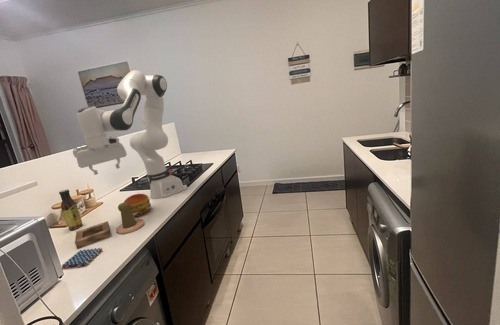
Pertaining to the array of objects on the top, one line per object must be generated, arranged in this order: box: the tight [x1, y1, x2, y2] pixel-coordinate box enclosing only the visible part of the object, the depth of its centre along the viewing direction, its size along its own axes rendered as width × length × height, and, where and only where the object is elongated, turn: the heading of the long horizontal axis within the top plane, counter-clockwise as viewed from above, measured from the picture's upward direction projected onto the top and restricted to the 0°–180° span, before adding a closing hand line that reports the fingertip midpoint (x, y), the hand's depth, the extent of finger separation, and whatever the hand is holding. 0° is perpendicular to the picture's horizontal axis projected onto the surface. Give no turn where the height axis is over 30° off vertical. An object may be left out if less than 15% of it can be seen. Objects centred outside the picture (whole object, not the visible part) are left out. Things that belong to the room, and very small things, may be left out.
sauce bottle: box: [58, 189, 83, 231], centre depth 129 cm, size 6×6×20 cm
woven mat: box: [61, 247, 104, 270], centre depth 99 cm, size 10×11×2 cm
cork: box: [117, 201, 137, 228], centre depth 119 cm, size 6×6×11 cm
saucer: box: [116, 218, 145, 235], centre depth 121 cm, size 12×12×1 cm
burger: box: [123, 193, 152, 217], centre depth 136 cm, size 13×14×10 cm
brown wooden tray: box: [74, 221, 112, 250], centre depth 117 cm, size 13×13×3 cm
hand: (107, 171), depth 122 cm, fingers open, 8 cm apart
